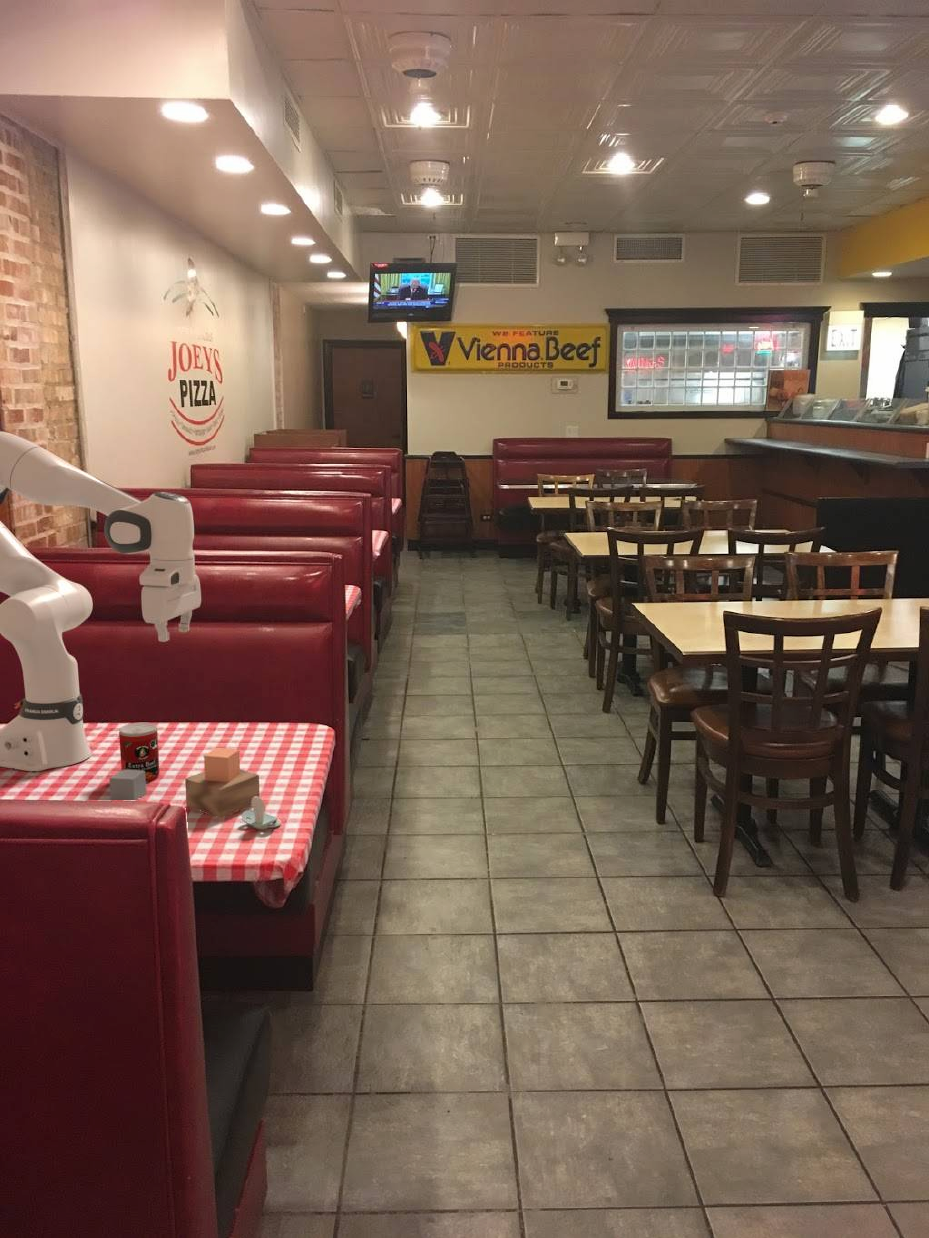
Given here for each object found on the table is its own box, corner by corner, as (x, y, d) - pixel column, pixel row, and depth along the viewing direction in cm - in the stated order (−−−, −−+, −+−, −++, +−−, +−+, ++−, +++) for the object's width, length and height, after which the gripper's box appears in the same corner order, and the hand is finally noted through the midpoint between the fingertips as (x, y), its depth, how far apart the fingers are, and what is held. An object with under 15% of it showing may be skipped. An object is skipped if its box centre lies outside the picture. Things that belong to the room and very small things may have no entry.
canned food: (125, 786, 197) (121, 735, 195) (119, 773, 204) (116, 724, 202) (163, 780, 200) (160, 730, 198) (156, 768, 207) (153, 720, 205)
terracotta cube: (205, 780, 185) (204, 755, 184) (216, 771, 190) (215, 747, 189) (228, 782, 184) (227, 757, 183) (240, 773, 189) (239, 749, 188)
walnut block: (186, 807, 187) (185, 778, 186) (226, 792, 195) (224, 764, 194) (220, 819, 181) (219, 789, 180) (259, 803, 189) (258, 774, 188)
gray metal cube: (111, 801, 189) (109, 778, 188) (123, 792, 194) (121, 769, 193) (134, 803, 188) (133, 779, 187) (146, 793, 193) (145, 770, 192)
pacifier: (261, 816, 183) (237, 825, 178) (261, 785, 182) (237, 794, 177) (288, 825, 179) (265, 835, 174) (288, 794, 178) (264, 802, 173)
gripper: (180, 563, 208) (181, 625, 211) (134, 577, 188) (136, 645, 191) (207, 565, 207) (208, 627, 210) (164, 579, 187) (166, 647, 190)
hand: (174, 636), depth 200 cm, fingers open, 8 cm apart
